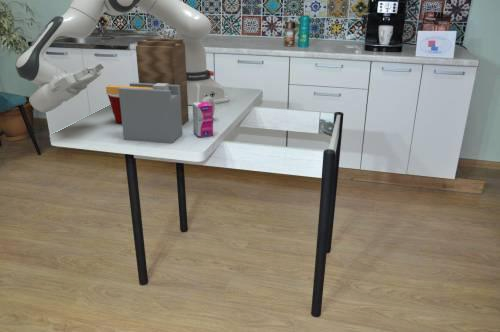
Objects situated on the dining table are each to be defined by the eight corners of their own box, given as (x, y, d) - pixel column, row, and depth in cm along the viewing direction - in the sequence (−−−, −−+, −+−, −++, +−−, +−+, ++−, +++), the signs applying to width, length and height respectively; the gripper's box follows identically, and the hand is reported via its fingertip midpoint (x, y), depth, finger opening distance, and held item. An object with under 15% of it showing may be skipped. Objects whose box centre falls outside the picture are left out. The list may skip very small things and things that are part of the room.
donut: (206, 125, 182) (205, 99, 178) (198, 124, 183) (196, 99, 179) (216, 118, 191) (215, 94, 187) (208, 117, 192) (207, 93, 188)
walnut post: (142, 126, 181) (135, 41, 169) (155, 118, 191) (149, 37, 179) (177, 129, 177) (172, 43, 166) (188, 120, 188) (184, 38, 176)
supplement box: (198, 138, 168) (196, 106, 164) (193, 133, 173) (191, 102, 169) (213, 136, 170) (212, 104, 166) (208, 131, 176) (207, 100, 171)
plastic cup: (131, 126, 181) (128, 95, 177) (105, 125, 183) (101, 94, 178) (142, 118, 191) (139, 88, 187) (116, 117, 193) (113, 87, 188)
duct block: (123, 139, 167) (118, 88, 160) (136, 130, 176) (132, 82, 169) (172, 143, 163) (168, 91, 156) (182, 134, 172) (179, 85, 165)
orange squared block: (105, 94, 166) (104, 82, 164) (111, 91, 169) (110, 80, 168) (164, 97, 161) (163, 86, 159) (169, 95, 164) (168, 83, 163)
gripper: (43, 84, 160) (72, 65, 155) (77, 72, 178) (104, 55, 173) (54, 100, 161) (83, 82, 156) (86, 87, 180) (114, 70, 175)
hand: (94, 68), depth 165 cm, fingers open, 8 cm apart
